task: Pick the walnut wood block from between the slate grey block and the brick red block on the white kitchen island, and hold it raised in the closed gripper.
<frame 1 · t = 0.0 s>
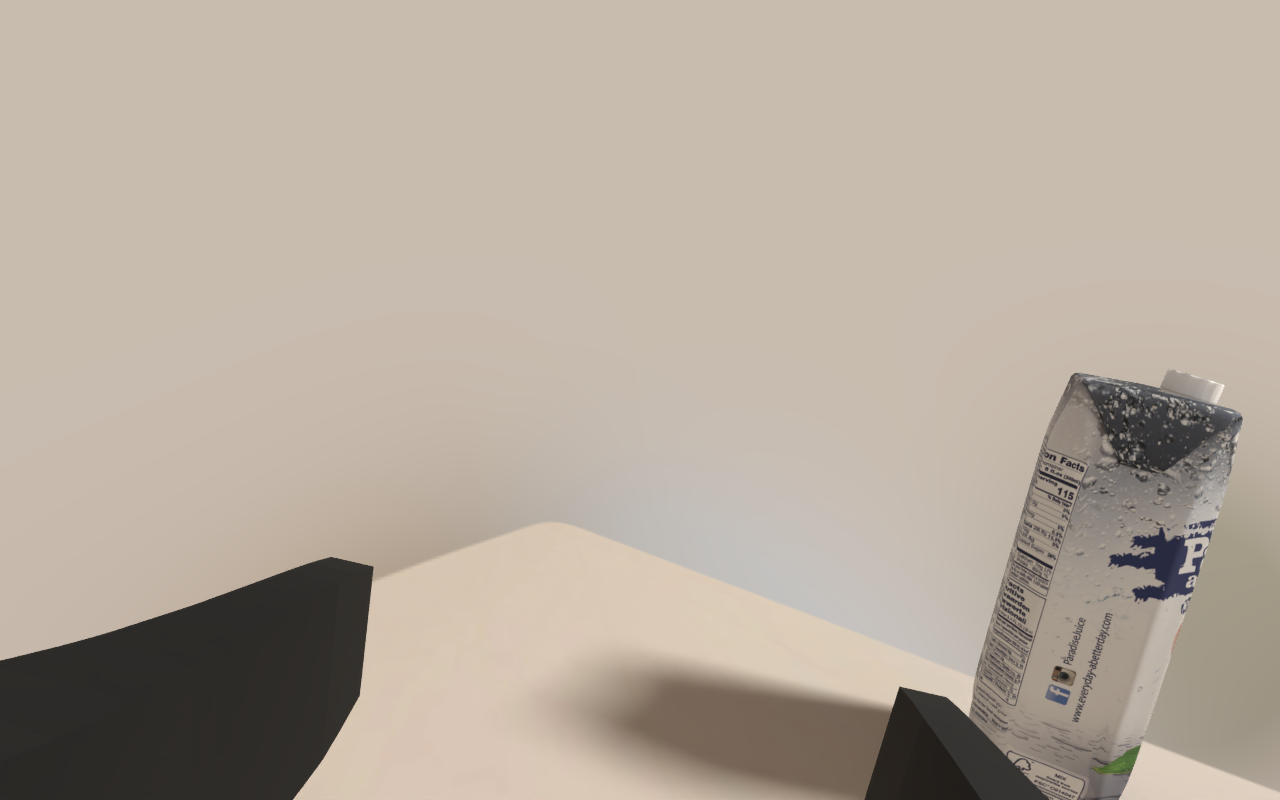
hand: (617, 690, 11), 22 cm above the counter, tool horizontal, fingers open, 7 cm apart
juice carton: (1027, 781, 51), on the counter
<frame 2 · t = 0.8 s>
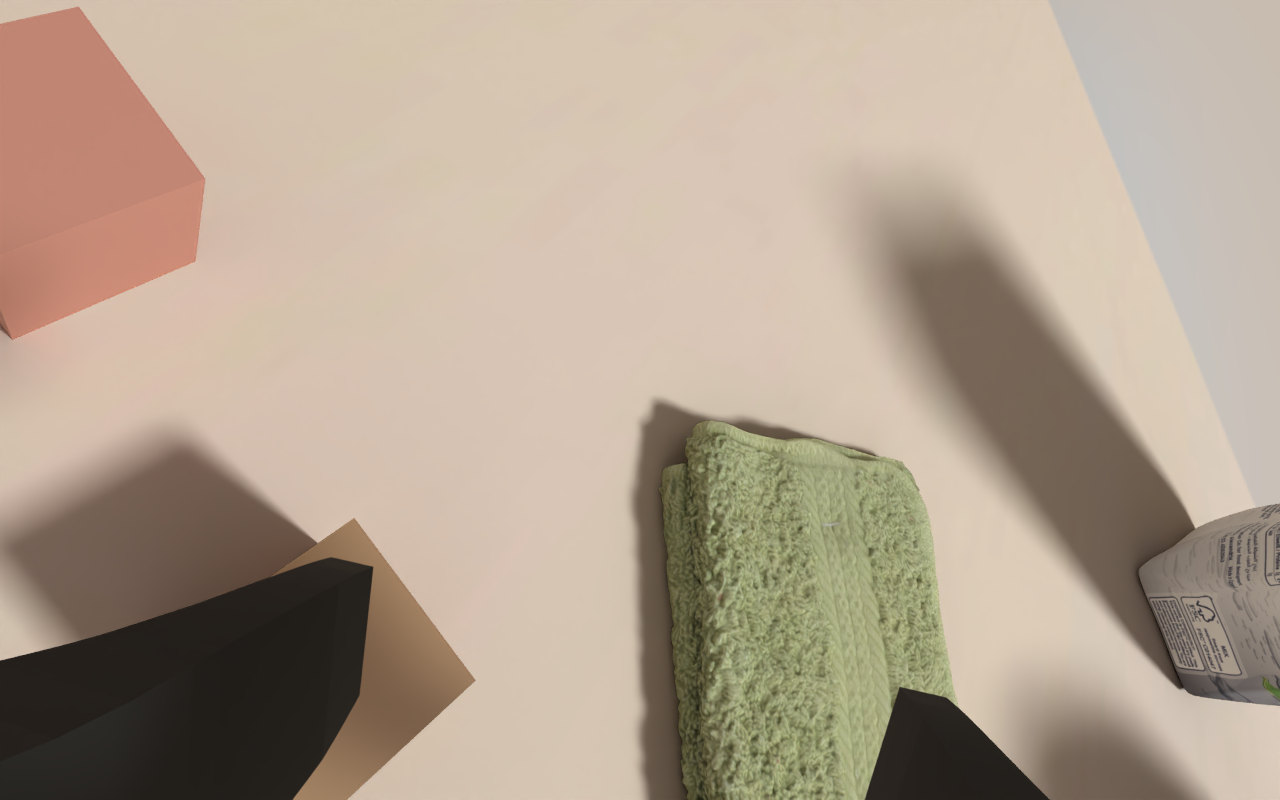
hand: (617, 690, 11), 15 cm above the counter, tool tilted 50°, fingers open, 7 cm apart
washcloth: (793, 663, 32), on the counter
juice carton: (1186, 606, 46), on the counter
walnut block: (294, 671, 22), on the counter
brick red block: (53, 225, 22), on the counter
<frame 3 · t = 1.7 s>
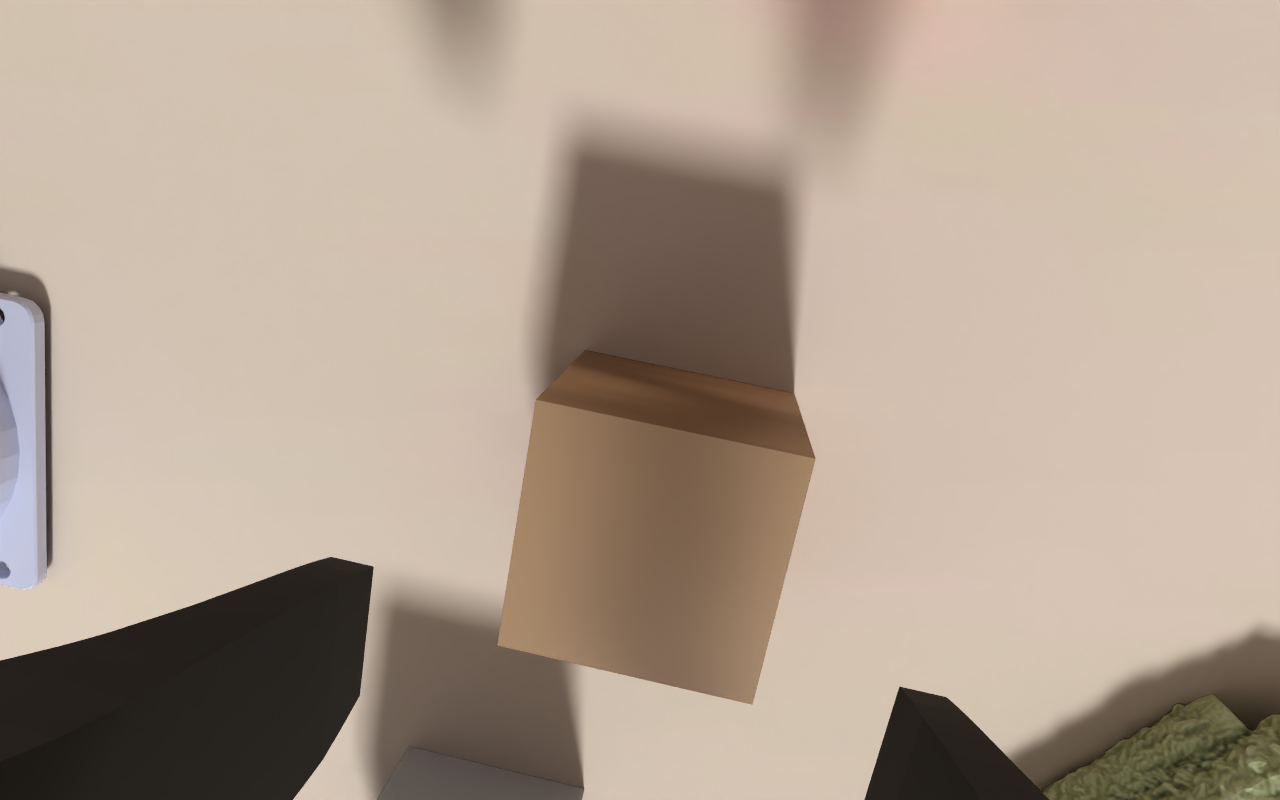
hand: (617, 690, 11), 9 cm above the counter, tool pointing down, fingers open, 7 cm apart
walnut block: (668, 469, 19), on the counter
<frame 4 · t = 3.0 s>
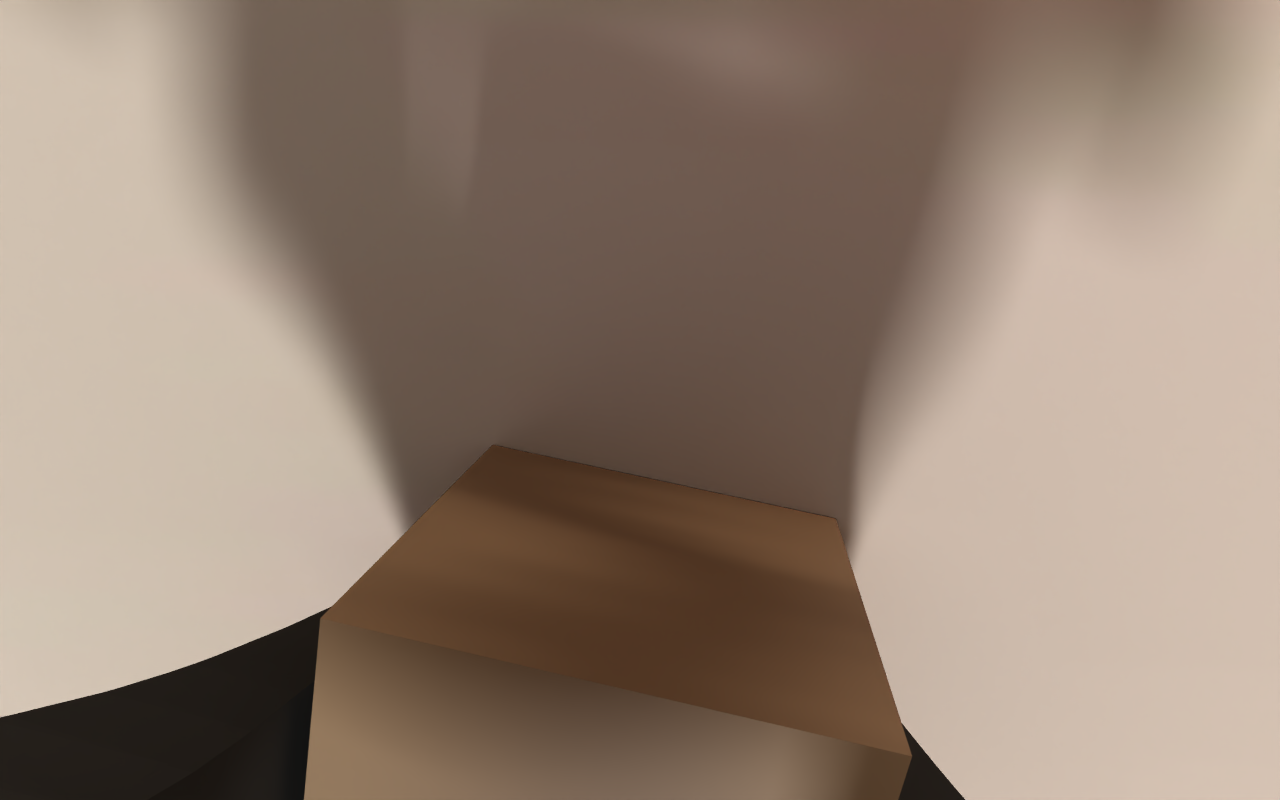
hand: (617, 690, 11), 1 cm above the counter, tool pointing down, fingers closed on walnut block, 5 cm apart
walnut block: (630, 634, 12), on the counter, touching gripper
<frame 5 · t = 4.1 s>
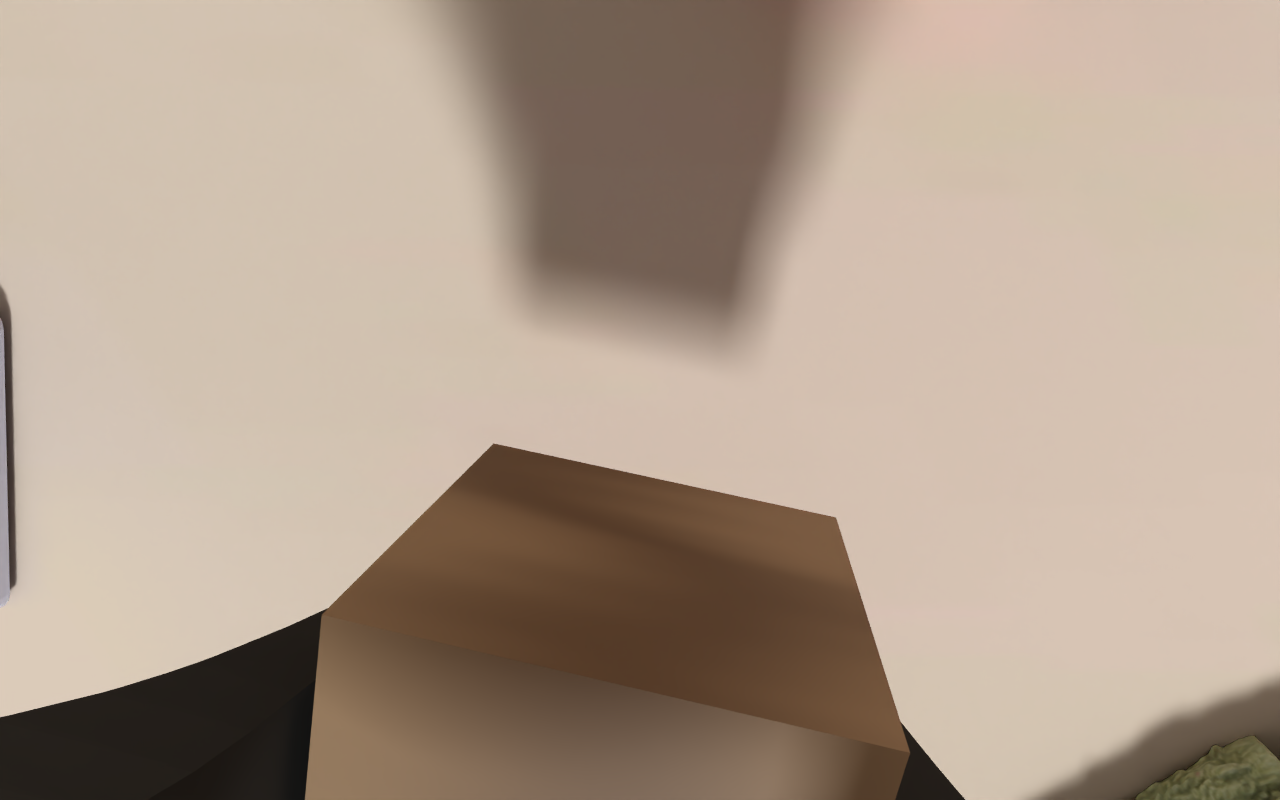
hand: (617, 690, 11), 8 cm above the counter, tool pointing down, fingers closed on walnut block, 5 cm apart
walnut block: (631, 632, 12), point 6 cm above the counter, touching gripper
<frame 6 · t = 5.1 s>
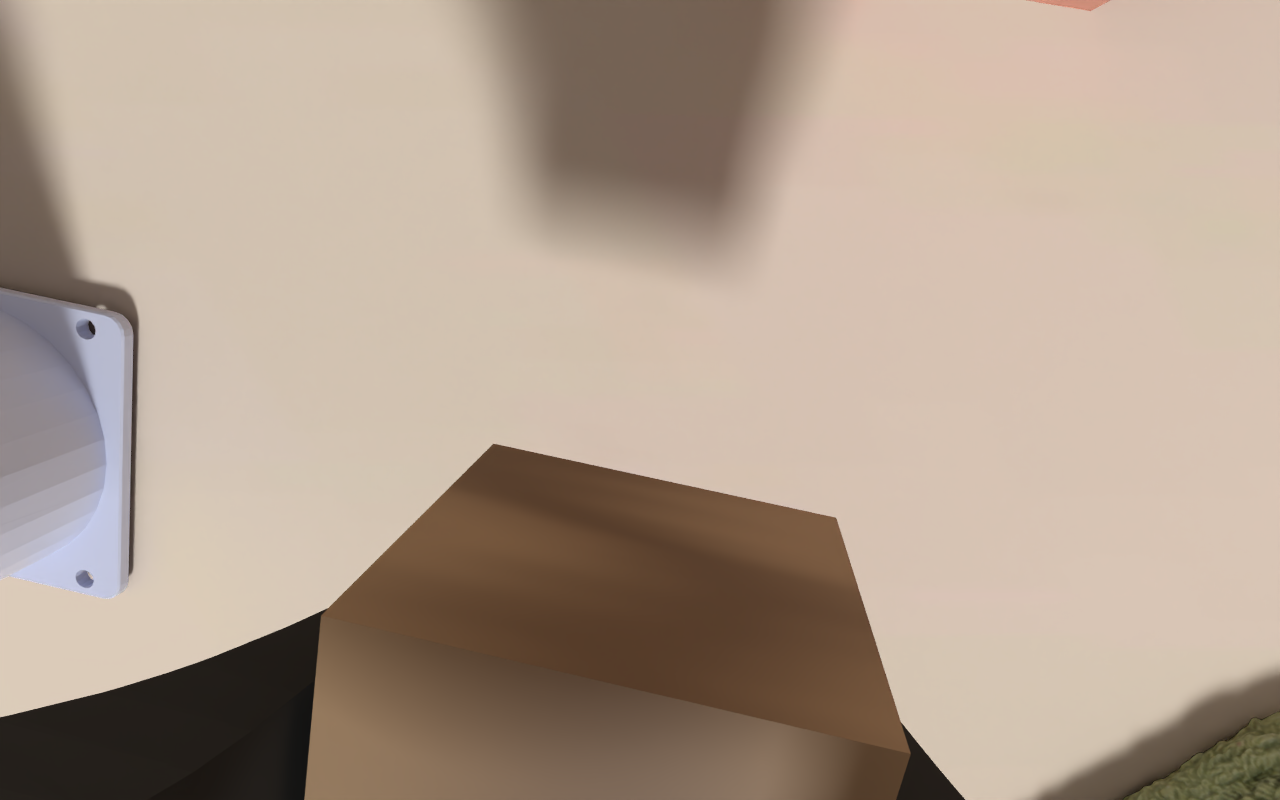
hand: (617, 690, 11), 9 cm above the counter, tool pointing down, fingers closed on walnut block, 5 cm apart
walnut block: (631, 633, 12), point 8 cm above the counter, touching gripper
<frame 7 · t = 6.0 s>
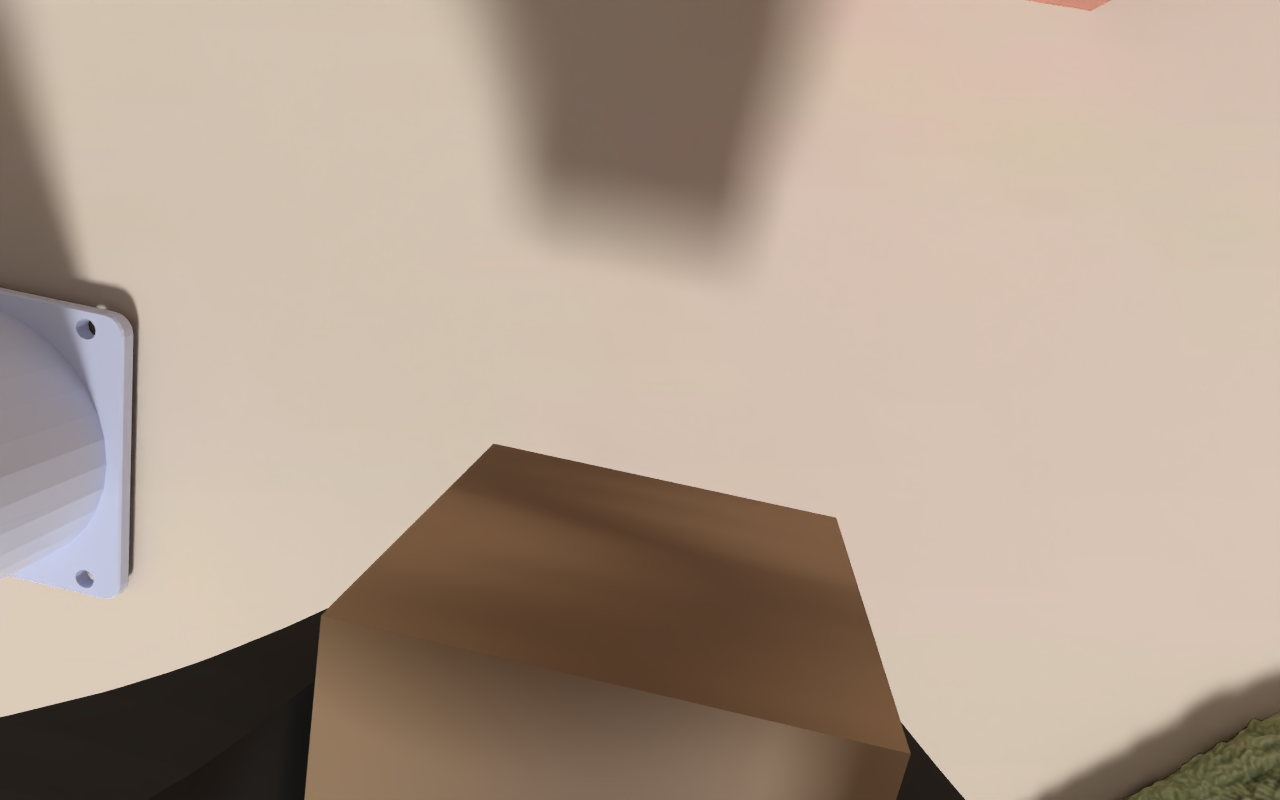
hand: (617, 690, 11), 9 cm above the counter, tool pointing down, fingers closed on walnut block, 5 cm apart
walnut block: (631, 633, 12), point 8 cm above the counter, touching gripper
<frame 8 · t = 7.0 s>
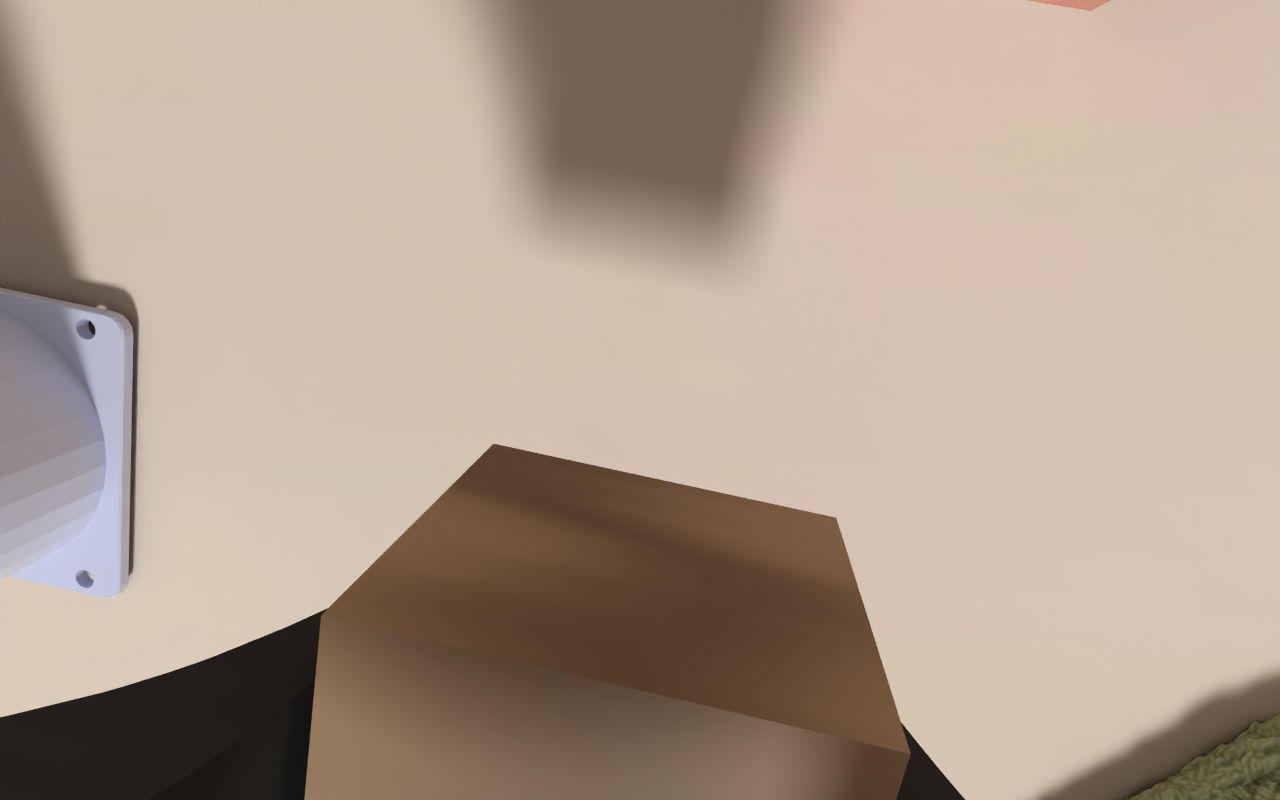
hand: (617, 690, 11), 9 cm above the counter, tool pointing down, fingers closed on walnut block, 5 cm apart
walnut block: (631, 633, 12), point 8 cm above the counter, touching gripper
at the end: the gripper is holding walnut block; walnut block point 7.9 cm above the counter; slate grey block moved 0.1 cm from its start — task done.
